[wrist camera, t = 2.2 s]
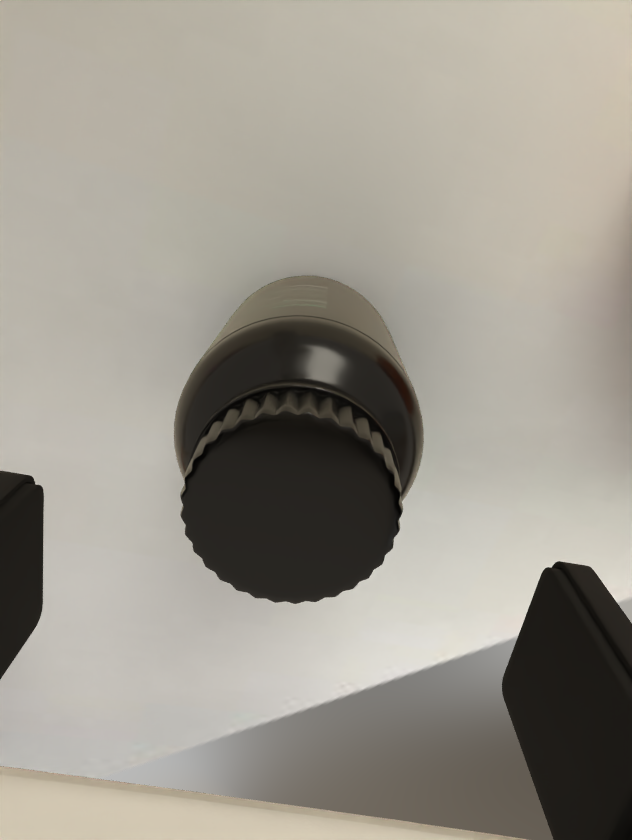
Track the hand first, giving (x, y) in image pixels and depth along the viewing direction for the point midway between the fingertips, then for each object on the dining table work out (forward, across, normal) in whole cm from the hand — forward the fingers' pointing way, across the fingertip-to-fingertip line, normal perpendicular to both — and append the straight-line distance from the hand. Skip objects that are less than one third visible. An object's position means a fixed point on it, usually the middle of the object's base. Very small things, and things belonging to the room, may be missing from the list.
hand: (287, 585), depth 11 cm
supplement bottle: (+14, 0, -1) cm, 14 cm away
